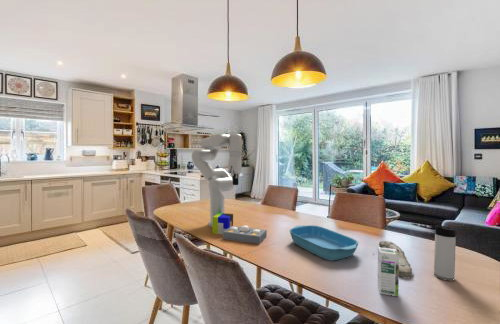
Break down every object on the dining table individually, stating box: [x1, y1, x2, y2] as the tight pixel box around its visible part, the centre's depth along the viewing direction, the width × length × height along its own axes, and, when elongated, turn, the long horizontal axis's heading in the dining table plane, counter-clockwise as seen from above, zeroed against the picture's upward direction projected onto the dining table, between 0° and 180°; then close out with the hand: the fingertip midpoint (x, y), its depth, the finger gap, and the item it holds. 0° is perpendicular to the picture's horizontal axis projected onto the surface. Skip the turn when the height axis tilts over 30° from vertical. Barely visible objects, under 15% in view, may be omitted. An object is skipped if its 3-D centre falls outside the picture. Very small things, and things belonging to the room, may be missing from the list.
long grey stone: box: [378, 240, 413, 278], centre depth 111 cm, size 35×5×10 cm
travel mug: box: [433, 225, 457, 281], centre depth 95 cm, size 6×7×20 cm
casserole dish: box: [289, 224, 359, 261], centre depth 124 cm, size 37×22×7 cm, turn 29°
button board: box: [222, 225, 268, 245], centre depth 140 cm, size 12×22×4 cm, turn 69°
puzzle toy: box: [212, 213, 234, 235], centre depth 151 cm, size 10×10×10 cm
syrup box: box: [377, 246, 400, 298], centre depth 85 cm, size 6×6×14 cm
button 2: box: [253, 228, 260, 234], centre depth 137 cm, size 4×4×4 cm
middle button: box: [240, 225, 250, 233], centre depth 139 cm, size 4×4×4 cm
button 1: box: [230, 226, 238, 231], centre depth 142 cm, size 4×4×4 cm
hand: (235, 184), depth 148 cm, fingers closed
